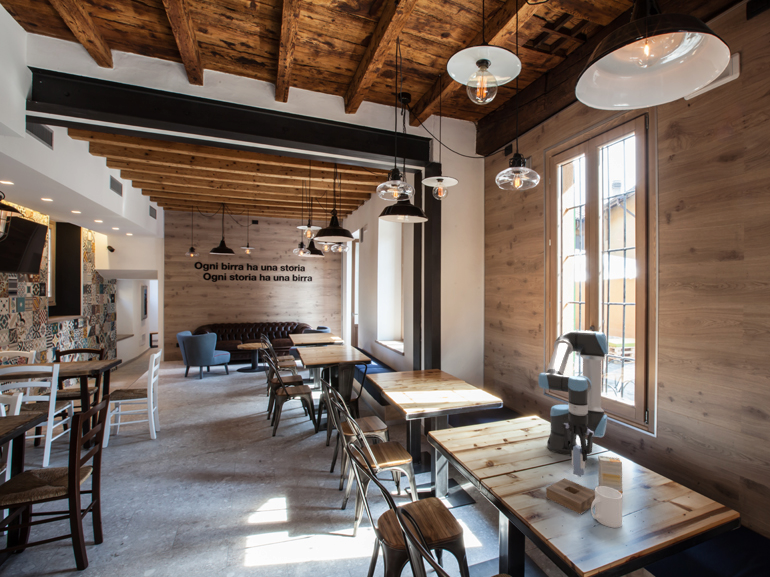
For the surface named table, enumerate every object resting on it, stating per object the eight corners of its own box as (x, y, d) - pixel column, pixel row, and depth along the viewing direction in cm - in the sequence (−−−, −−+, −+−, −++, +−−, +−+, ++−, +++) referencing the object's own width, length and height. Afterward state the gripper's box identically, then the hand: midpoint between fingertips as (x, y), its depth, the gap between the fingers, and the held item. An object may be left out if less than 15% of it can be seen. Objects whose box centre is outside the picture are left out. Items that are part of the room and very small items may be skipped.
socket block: (564, 487, 159) (564, 478, 159) (598, 502, 148) (598, 492, 148) (546, 497, 151) (546, 487, 151) (580, 514, 140) (580, 503, 140)
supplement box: (619, 488, 159) (619, 457, 159) (622, 493, 155) (622, 462, 155) (597, 484, 162) (597, 454, 162) (600, 490, 157) (600, 459, 157)
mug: (582, 517, 138) (582, 488, 138) (608, 512, 141) (608, 484, 141) (600, 531, 130) (600, 501, 130) (628, 526, 133) (627, 496, 133)
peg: (576, 471, 163) (576, 444, 163) (583, 474, 161) (583, 447, 161) (573, 473, 161) (573, 446, 161) (580, 476, 159) (580, 449, 159)
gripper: (555, 409, 165) (556, 461, 165) (592, 420, 152) (593, 476, 152) (564, 406, 170) (565, 456, 170) (601, 416, 156) (601, 470, 157)
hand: (578, 465), depth 161 cm, fingers closed on peg, 3 cm apart
